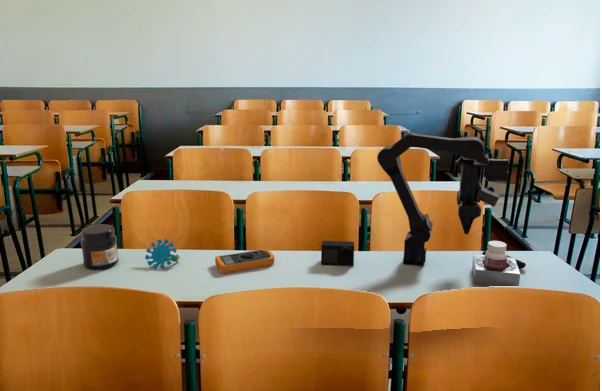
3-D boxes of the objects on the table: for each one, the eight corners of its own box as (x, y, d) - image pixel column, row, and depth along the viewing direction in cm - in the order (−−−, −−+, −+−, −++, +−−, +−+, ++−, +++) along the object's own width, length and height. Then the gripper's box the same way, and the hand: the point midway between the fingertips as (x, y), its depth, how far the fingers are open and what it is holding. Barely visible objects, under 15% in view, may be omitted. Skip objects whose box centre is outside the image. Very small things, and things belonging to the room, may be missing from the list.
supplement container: (119, 268, 161) (115, 232, 157) (82, 273, 157) (78, 236, 154) (118, 256, 170) (115, 222, 167) (84, 260, 167) (80, 225, 164)
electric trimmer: (519, 273, 159) (520, 264, 158) (480, 255, 172) (481, 247, 171) (527, 271, 161) (529, 261, 160) (488, 253, 174) (490, 245, 173)
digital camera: (320, 266, 163) (320, 246, 161) (321, 260, 168) (321, 240, 166) (353, 268, 162) (354, 247, 160) (353, 261, 167) (354, 241, 165)
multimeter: (276, 266, 163) (276, 256, 162) (221, 275, 156) (220, 265, 156) (267, 257, 171) (267, 247, 170) (214, 265, 164) (214, 255, 163)
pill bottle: (508, 282, 152) (513, 246, 149) (490, 284, 150) (494, 248, 147) (496, 273, 158) (500, 239, 155) (478, 275, 156) (482, 240, 153)
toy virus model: (139, 263, 161) (152, 234, 165) (146, 269, 166) (159, 242, 170) (170, 271, 158) (183, 242, 163) (176, 278, 163) (188, 250, 168)
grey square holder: (474, 285, 150) (475, 269, 148) (471, 268, 161) (473, 254, 160) (518, 290, 147) (520, 274, 146) (512, 273, 158) (514, 258, 157)
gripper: (502, 189, 143) (496, 242, 148) (495, 174, 161) (490, 221, 165) (460, 186, 146) (456, 238, 150) (458, 172, 163) (454, 218, 168)
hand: (465, 228), depth 158 cm, fingers open, 9 cm apart
